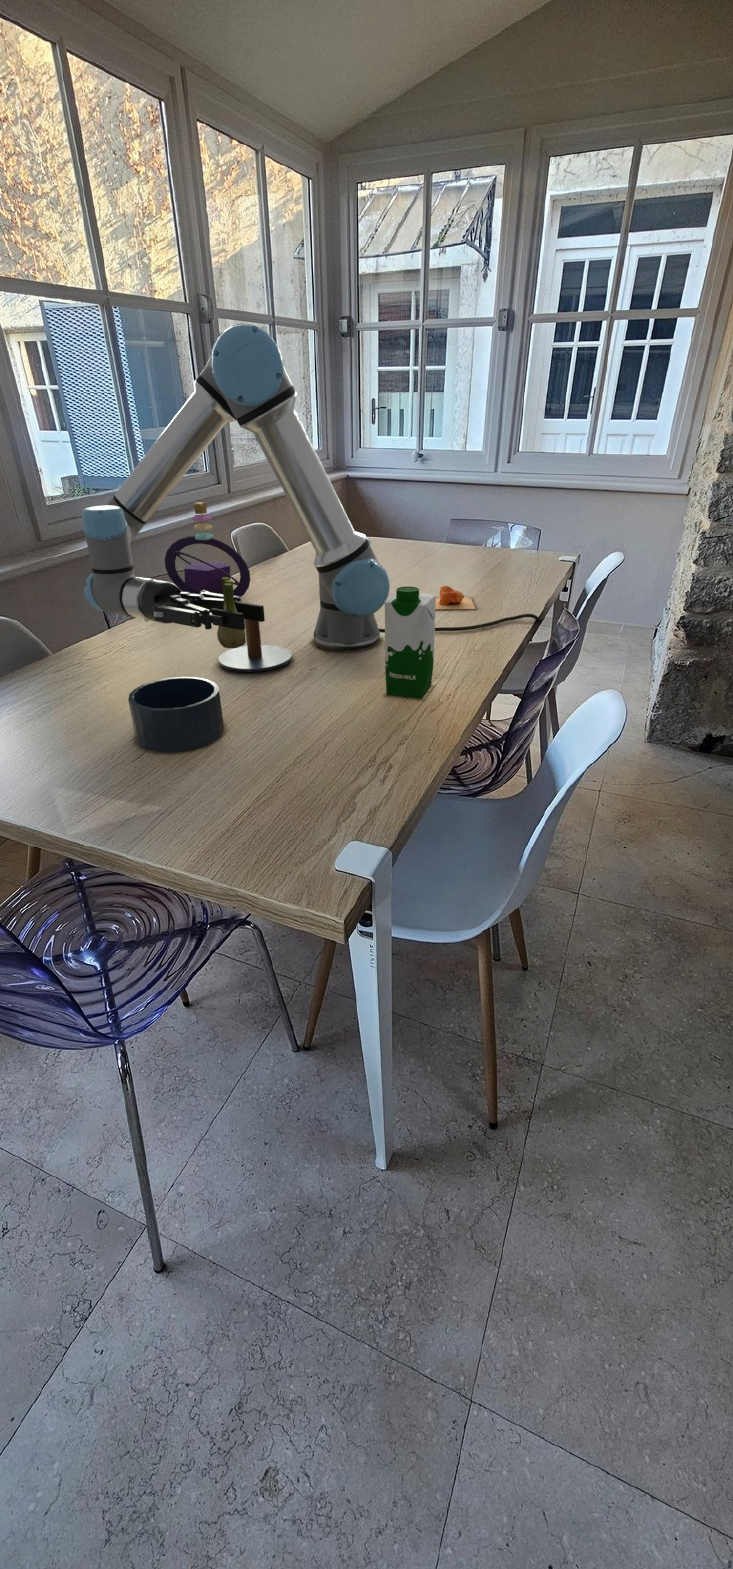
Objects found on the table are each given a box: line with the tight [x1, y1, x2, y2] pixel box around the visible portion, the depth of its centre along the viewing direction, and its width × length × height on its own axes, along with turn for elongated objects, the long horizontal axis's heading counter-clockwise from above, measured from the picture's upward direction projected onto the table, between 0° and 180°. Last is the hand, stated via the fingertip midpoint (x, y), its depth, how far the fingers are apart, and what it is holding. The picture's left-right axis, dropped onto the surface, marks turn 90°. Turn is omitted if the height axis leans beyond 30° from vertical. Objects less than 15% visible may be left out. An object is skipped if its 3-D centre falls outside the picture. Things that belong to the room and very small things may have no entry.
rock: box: [435, 585, 476, 611], centre depth 187 cm, size 12×12×4 cm
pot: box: [127, 676, 225, 754], centre depth 118 cm, size 15×15×8 cm
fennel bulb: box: [216, 577, 247, 649], centre depth 122 cm, size 6×5×12 cm
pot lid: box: [218, 619, 293, 673], centre depth 148 cm, size 16×16×10 cm
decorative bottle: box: [164, 501, 251, 598], centre depth 193 cm, size 22×21×25 cm
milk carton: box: [384, 586, 437, 700], centre depth 130 cm, size 9×9×20 cm
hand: (252, 617), depth 119 cm, fingers closed on fennel bulb, 5 cm apart
